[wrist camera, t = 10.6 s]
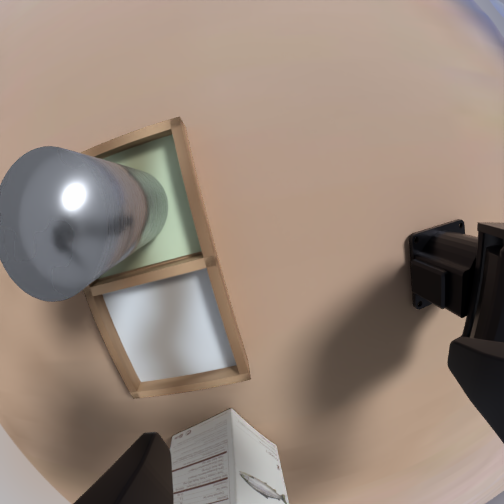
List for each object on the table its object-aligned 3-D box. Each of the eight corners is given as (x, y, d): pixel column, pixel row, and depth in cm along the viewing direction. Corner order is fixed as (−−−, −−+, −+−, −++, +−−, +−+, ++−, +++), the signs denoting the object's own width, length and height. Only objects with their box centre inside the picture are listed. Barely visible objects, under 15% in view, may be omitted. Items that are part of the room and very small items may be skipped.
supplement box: (278, 443, 23) (304, 551, 10) (218, 469, 23) (221, 568, 11) (232, 404, 21) (242, 536, 9) (168, 434, 22) (150, 547, 9)
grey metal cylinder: (148, 155, 16) (70, 115, 6) (181, 224, 17) (134, 261, 7) (87, 193, 16) (-21, 199, 6) (118, 258, 17) (31, 321, 7)
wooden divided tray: (185, 126, 17) (179, 116, 15) (248, 360, 21) (250, 379, 18) (69, 169, 17) (51, 166, 14) (140, 380, 20) (133, 398, 18)
